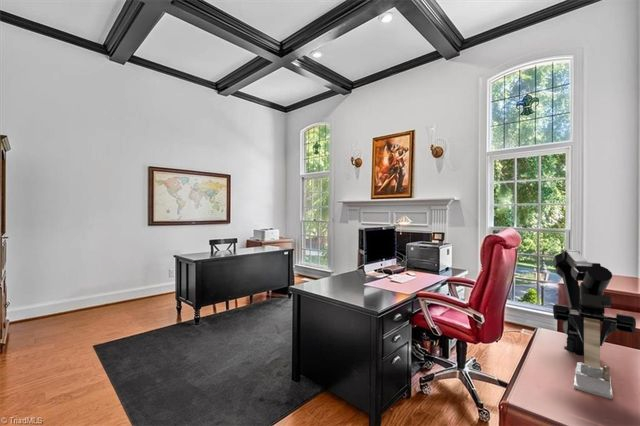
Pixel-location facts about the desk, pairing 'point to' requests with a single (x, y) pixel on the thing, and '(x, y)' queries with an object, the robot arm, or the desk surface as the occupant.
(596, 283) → the robot arm
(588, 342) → the tan wooden block
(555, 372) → the desk surface
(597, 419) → the desk surface
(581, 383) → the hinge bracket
